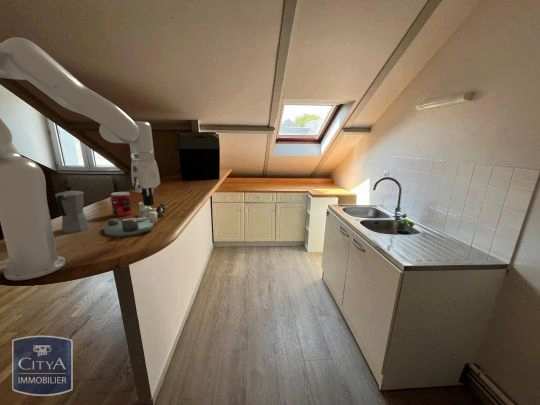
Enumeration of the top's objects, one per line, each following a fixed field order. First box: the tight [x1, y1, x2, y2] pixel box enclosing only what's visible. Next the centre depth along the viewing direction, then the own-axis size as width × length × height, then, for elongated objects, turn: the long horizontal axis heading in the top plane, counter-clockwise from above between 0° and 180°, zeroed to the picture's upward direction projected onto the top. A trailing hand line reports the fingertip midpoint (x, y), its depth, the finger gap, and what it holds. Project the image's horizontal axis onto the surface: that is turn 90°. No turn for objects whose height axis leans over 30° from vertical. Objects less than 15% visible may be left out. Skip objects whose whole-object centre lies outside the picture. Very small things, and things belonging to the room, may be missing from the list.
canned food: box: [110, 191, 132, 218], centre depth 121 cm, size 8×8×11 cm
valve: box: [138, 201, 167, 217], centre depth 121 cm, size 7×7×12 cm
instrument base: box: [103, 214, 154, 237], centre depth 103 cm, size 18×18×4 cm
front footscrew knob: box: [120, 211, 158, 232], centre depth 99 cm, size 13×6×6 cm, turn 124°
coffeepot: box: [54, 185, 90, 234], centre depth 98 cm, size 15×9×18 cm, turn 14°
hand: (148, 205), depth 94 cm, fingers closed
